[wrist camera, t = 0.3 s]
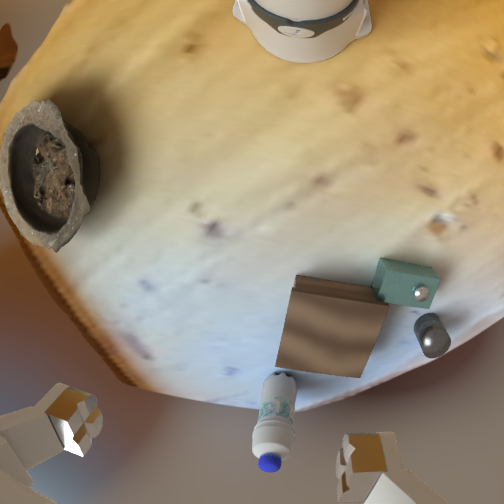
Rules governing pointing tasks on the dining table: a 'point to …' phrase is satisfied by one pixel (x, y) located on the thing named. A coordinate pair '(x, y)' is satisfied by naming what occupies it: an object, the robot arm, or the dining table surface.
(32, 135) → the stone bowl
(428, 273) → the block
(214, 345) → the dining table surface
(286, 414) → the bottle
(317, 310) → the stand
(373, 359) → the dining table surface
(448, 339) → the tin
